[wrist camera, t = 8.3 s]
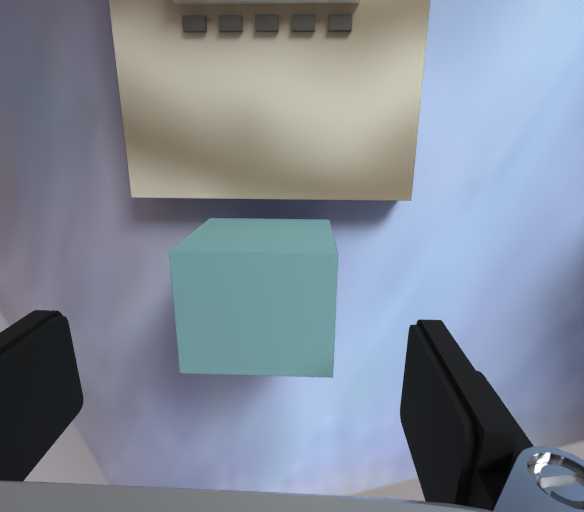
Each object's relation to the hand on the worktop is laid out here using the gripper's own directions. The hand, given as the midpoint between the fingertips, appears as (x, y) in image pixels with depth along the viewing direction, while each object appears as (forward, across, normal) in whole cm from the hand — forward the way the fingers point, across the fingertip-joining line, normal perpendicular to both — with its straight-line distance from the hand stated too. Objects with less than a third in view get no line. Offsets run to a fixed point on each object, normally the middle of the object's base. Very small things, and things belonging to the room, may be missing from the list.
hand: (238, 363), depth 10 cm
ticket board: (+12, 0, -12) cm, 17 cm away
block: (+10, 0, +1) cm, 10 cm away
